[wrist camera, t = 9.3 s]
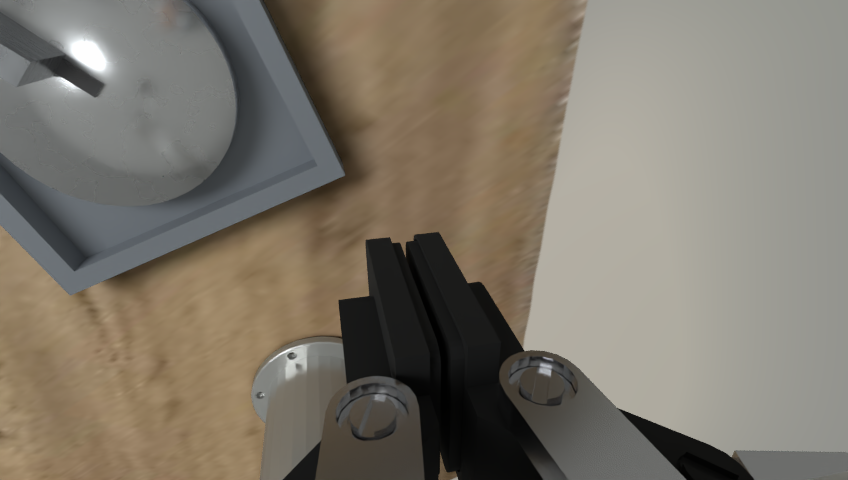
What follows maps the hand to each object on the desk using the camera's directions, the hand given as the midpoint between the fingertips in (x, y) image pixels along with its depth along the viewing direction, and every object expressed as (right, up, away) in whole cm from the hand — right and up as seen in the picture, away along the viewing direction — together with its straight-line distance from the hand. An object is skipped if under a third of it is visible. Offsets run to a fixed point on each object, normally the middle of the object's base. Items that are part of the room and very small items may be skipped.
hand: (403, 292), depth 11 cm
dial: (-20, +11, +19) cm, 30 cm away
